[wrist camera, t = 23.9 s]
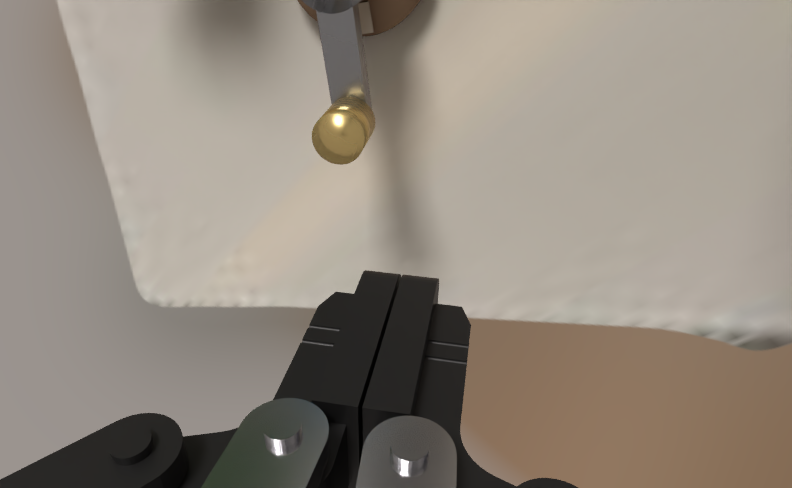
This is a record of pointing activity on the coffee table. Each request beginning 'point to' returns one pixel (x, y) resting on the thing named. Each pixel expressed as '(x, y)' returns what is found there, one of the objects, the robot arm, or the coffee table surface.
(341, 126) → the crank
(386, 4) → the base
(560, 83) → the coffee table surface
